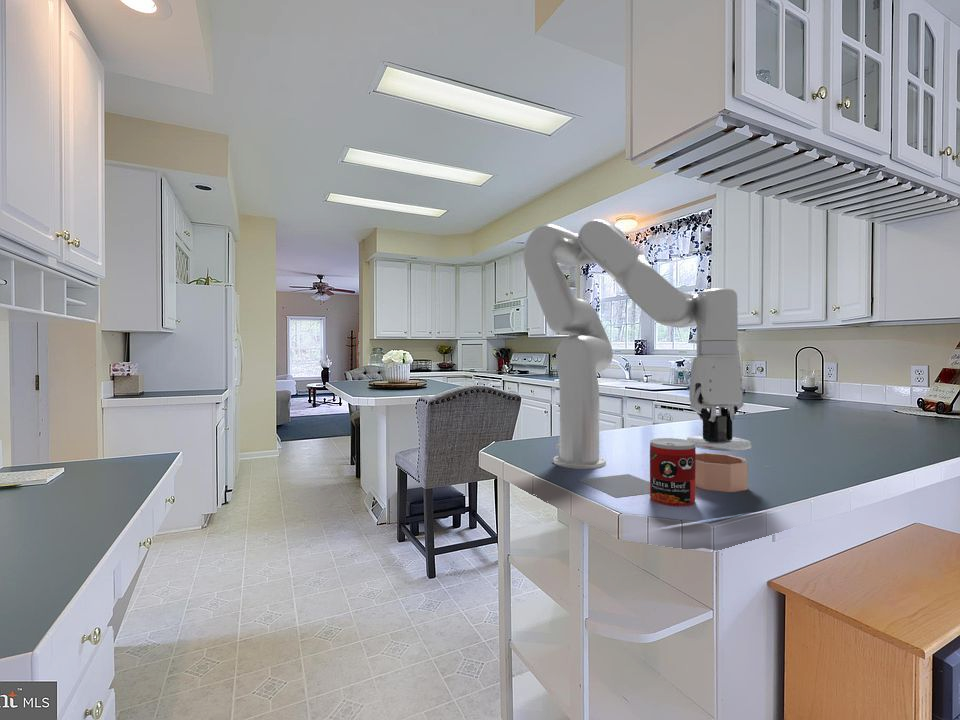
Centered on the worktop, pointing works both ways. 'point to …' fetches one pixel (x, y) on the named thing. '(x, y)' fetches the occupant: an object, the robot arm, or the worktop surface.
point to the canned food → (672, 471)
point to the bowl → (721, 472)
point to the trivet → (619, 485)
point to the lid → (721, 439)
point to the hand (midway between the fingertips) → (717, 438)
